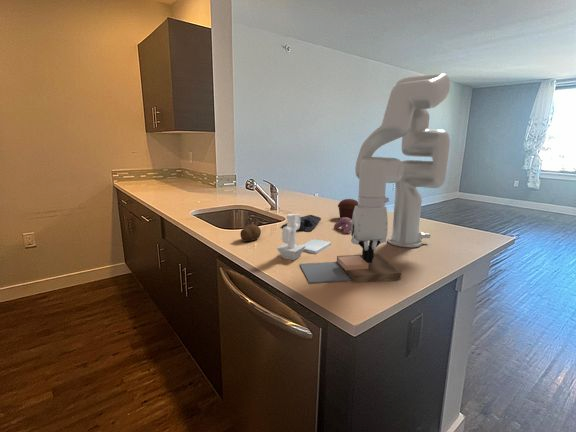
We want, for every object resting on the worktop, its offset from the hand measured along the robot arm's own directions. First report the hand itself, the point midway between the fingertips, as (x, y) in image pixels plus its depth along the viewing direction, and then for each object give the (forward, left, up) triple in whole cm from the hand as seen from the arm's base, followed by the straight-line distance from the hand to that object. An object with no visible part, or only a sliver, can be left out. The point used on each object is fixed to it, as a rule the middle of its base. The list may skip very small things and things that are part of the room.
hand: (367, 261), depth 98 cm
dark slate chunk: (+9, -56, -4) cm, 57 cm away
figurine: (+21, -15, -3) cm, 26 cm away
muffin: (-17, -66, -3) cm, 68 cm away
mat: (+14, 0, -3) cm, 14 cm away
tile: (+5, 0, -1) cm, 5 cm away
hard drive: (+11, -24, -4) cm, 26 cm away
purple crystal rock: (-7, -44, -3) cm, 45 cm away
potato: (+34, -37, -3) cm, 50 cm away
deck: (0, 0, -3) cm, 3 cm away
